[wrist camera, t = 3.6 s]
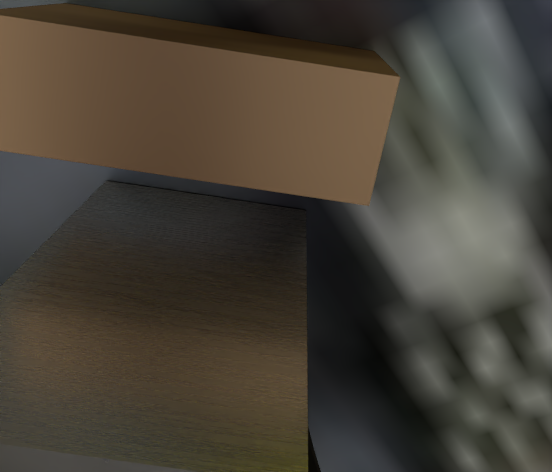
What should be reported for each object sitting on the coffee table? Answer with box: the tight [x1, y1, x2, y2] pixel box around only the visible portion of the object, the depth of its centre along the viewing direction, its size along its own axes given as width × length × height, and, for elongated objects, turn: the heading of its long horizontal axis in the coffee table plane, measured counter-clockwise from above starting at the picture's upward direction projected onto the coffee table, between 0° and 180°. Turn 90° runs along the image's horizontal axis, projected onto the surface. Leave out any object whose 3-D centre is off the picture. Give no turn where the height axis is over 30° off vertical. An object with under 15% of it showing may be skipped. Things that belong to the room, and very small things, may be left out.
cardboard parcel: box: [0, 3, 400, 206], centre depth 12 cm, size 6×17×3 cm, turn 172°
